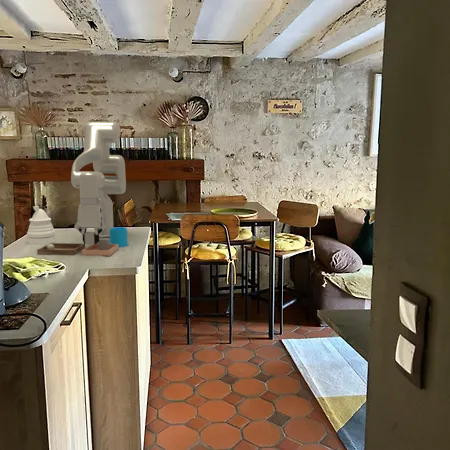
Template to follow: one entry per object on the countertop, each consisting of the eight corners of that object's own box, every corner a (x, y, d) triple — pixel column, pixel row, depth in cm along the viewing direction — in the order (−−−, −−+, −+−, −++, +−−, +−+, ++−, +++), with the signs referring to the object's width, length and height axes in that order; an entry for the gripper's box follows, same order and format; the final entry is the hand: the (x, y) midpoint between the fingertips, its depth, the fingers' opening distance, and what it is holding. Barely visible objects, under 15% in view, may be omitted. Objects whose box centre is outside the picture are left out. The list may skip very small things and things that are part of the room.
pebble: (48, 250, 203) (48, 243, 203) (55, 250, 203) (55, 243, 203) (45, 251, 200) (45, 244, 200) (53, 251, 200) (52, 244, 199)
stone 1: (88, 242, 199) (87, 231, 198) (97, 242, 199) (96, 231, 198) (85, 244, 195) (84, 233, 195) (94, 244, 195) (93, 233, 194)
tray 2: (92, 249, 208) (92, 243, 208) (118, 249, 208) (118, 244, 207) (82, 256, 194) (81, 250, 194) (109, 256, 194) (109, 250, 193)
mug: (126, 247, 213) (125, 230, 211) (108, 247, 212) (107, 230, 211) (129, 242, 225) (129, 225, 223) (113, 242, 224) (112, 225, 223)
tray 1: (50, 248, 209) (50, 243, 208) (85, 248, 208) (84, 243, 208) (37, 255, 195) (37, 249, 194) (74, 255, 194) (73, 250, 194)
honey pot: (38, 246, 213) (36, 208, 210) (21, 243, 220) (19, 206, 217) (61, 241, 224) (59, 205, 221) (44, 239, 231) (42, 204, 228)
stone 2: (101, 248, 206) (100, 238, 205) (110, 249, 206) (109, 238, 205) (98, 250, 202) (98, 239, 201) (107, 250, 202) (107, 239, 201)
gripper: (111, 200, 198) (112, 242, 201) (73, 200, 198) (75, 241, 201) (106, 202, 190) (107, 245, 193) (66, 202, 191) (68, 244, 194)
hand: (91, 242), depth 197 cm, fingers closed on stone 1, 4 cm apart
